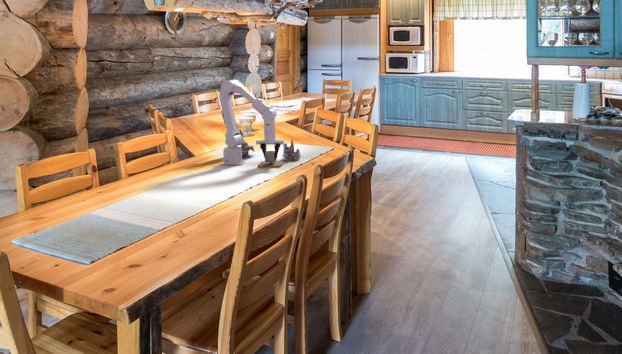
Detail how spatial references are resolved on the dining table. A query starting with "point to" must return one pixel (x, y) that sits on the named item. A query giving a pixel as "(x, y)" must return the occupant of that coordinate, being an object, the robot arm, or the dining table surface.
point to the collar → (270, 156)
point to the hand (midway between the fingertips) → (270, 158)
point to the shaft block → (270, 164)
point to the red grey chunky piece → (290, 152)
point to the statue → (244, 144)
